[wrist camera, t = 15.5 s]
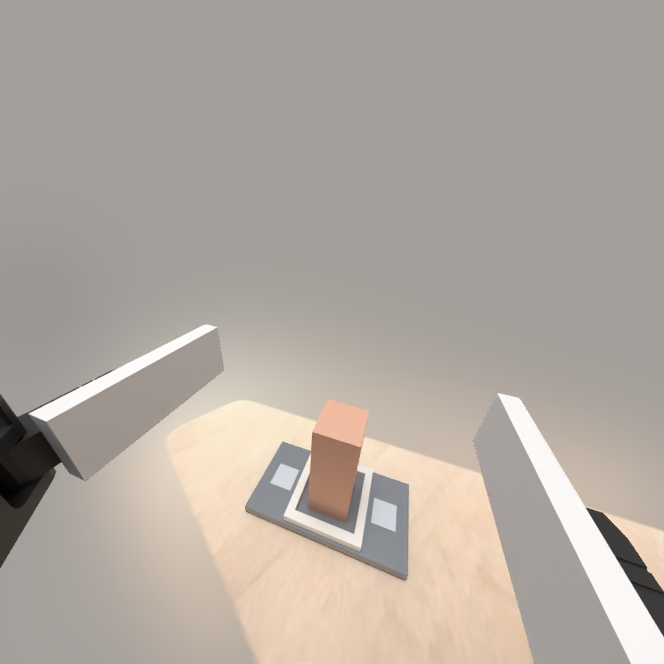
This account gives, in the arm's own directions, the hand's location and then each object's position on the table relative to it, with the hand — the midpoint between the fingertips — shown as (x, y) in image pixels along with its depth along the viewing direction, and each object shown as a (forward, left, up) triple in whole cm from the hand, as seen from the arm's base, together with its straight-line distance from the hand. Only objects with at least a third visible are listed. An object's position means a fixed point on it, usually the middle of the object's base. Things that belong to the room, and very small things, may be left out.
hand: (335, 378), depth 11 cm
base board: (+6, -7, -28) cm, 30 cm away
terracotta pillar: (+6, -7, -27) cm, 28 cm away
